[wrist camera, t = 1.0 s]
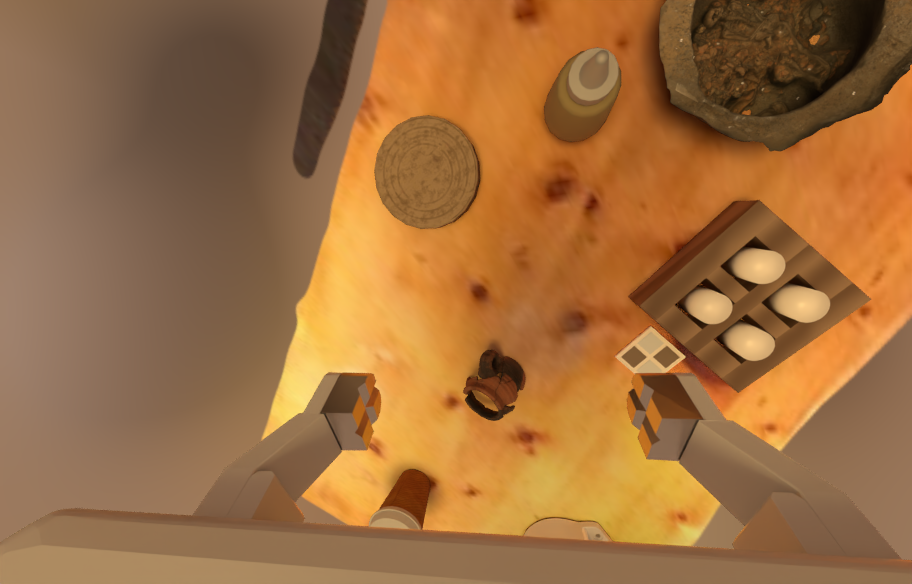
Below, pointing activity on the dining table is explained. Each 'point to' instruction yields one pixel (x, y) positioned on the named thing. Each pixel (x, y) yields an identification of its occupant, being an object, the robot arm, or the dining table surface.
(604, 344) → the dining table surface
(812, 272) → the button board
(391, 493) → the disposable coffee cup
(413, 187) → the brown wooden disc
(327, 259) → the dining table surface
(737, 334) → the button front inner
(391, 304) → the dining table surface
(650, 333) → the tile
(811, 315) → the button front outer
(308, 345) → the dining table surface
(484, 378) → the pottery mug
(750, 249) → the beige egg
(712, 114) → the stone bowl
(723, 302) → the egg
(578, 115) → the squeeze bottle
